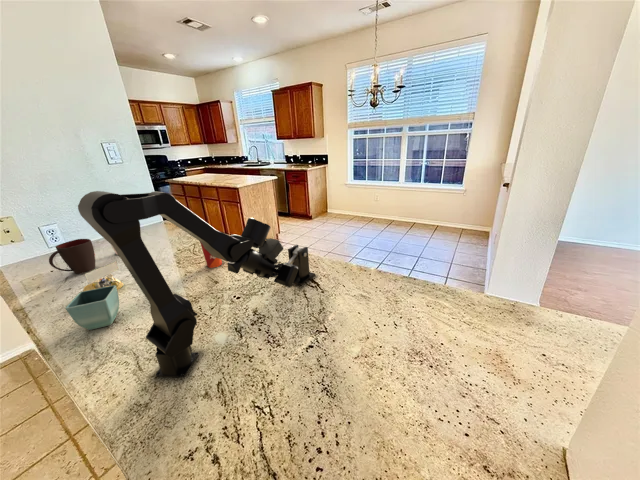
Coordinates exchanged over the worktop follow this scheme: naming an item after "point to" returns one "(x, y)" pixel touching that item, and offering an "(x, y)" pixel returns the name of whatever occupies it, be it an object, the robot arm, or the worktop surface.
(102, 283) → the cake
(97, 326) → the flower pot
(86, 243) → the mug
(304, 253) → the tap bracket
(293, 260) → the tap lever
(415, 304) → the worktop surface
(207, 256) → the paper cup
